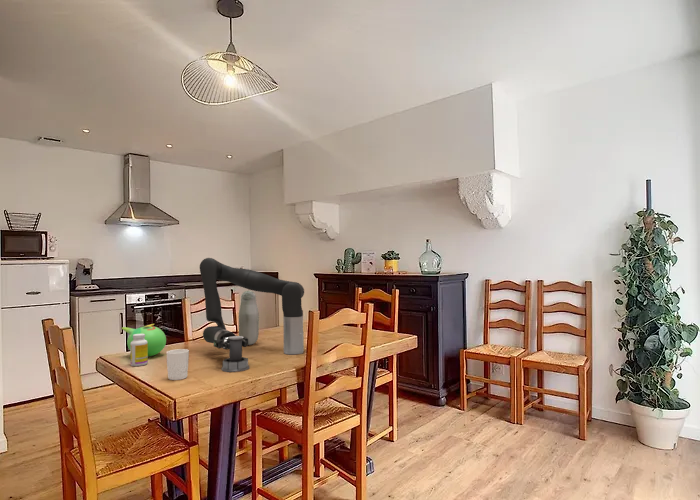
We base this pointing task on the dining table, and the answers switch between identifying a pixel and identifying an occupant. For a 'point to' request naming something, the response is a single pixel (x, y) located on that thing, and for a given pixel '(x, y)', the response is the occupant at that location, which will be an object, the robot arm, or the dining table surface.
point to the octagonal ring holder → (235, 365)
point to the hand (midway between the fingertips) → (237, 345)
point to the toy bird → (149, 338)
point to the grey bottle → (249, 317)
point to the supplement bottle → (138, 350)
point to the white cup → (177, 363)
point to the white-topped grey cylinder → (235, 348)
